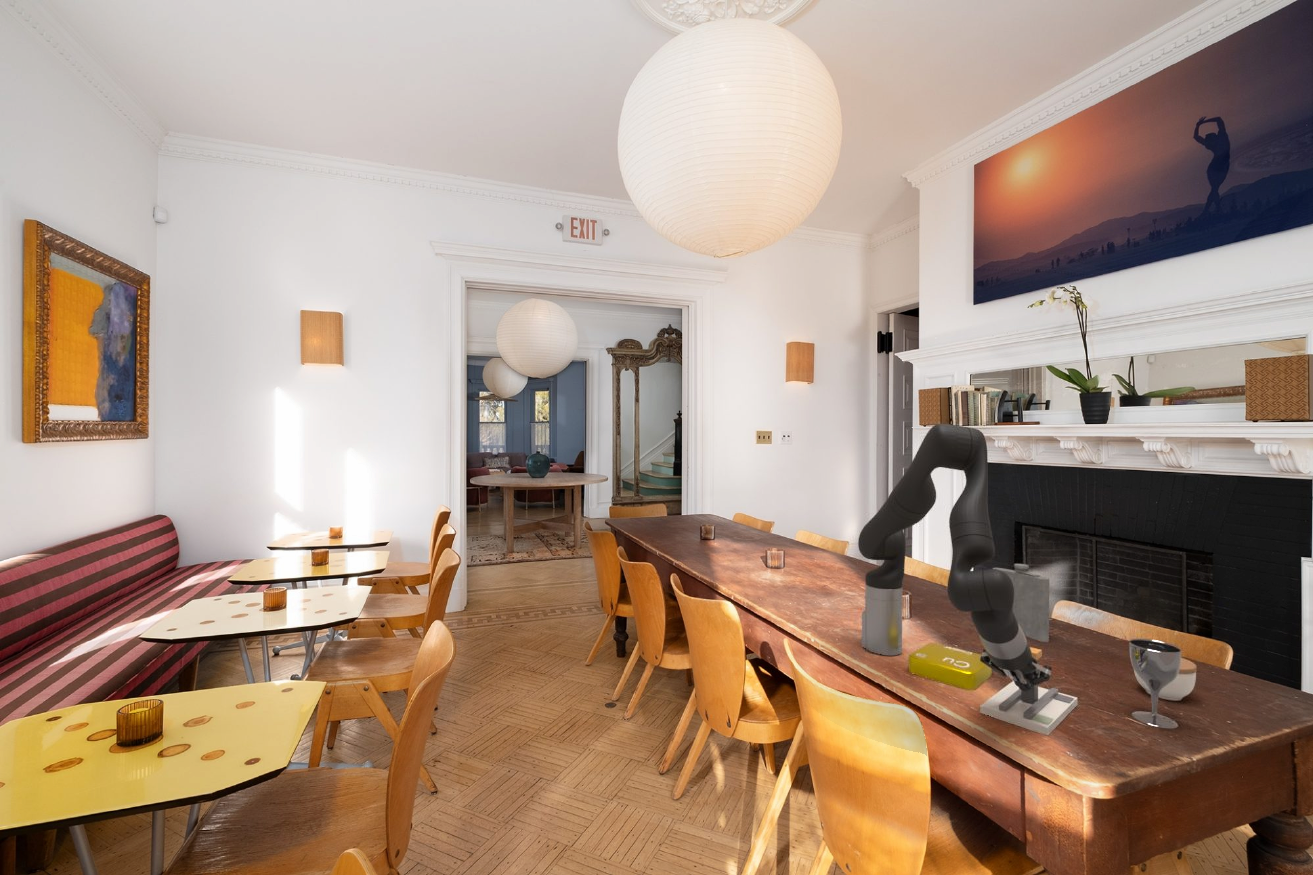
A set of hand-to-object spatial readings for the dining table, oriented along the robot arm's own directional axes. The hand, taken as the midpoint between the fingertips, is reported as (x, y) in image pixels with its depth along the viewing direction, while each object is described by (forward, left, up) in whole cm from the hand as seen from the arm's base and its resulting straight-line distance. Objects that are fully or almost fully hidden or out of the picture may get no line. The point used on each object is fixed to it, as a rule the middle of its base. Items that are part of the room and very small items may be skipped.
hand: (1025, 686), depth 121 cm
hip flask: (-18, +55, -6) cm, 58 cm away
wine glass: (+18, +16, -5) cm, 25 cm away
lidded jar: (+17, +33, -6) cm, 38 cm away
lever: (0, +2, -3) cm, 4 cm away
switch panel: (0, +2, -5) cm, 6 cm away
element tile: (-19, +9, -6) cm, 22 cm away
